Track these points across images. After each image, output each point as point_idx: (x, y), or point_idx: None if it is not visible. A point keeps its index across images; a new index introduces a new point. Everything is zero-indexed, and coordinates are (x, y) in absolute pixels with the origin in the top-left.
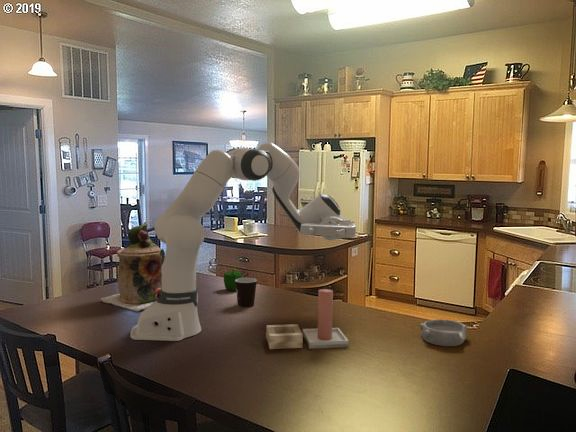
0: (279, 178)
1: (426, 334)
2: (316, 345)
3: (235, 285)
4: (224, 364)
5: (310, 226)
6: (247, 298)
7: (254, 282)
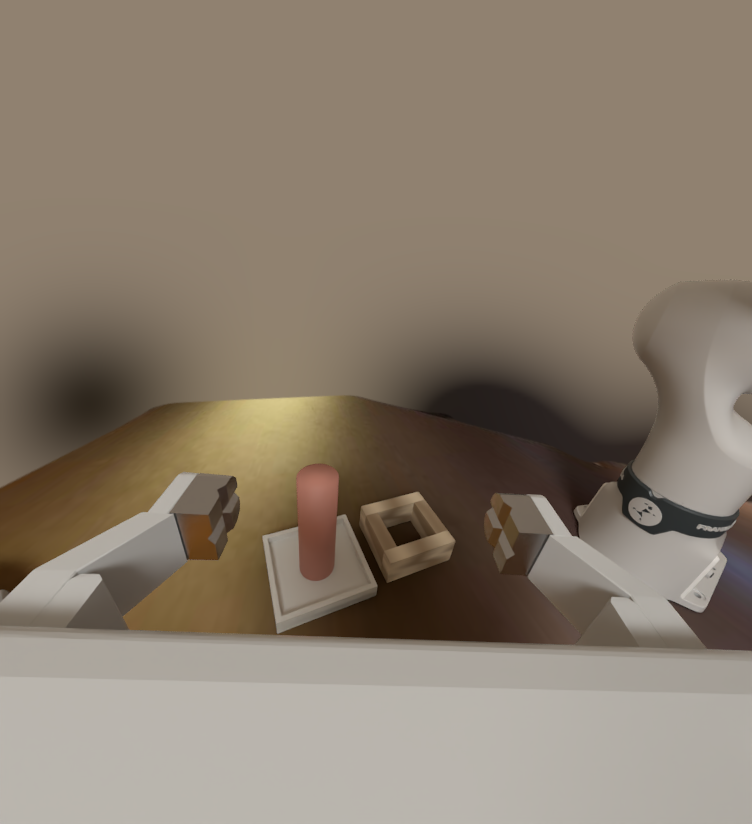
0: None
1: (8, 594)
2: None
3: None
4: (446, 460)
5: (711, 652)
6: None
7: None
